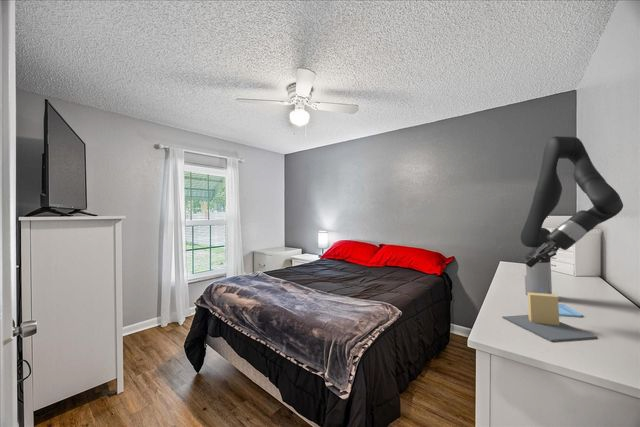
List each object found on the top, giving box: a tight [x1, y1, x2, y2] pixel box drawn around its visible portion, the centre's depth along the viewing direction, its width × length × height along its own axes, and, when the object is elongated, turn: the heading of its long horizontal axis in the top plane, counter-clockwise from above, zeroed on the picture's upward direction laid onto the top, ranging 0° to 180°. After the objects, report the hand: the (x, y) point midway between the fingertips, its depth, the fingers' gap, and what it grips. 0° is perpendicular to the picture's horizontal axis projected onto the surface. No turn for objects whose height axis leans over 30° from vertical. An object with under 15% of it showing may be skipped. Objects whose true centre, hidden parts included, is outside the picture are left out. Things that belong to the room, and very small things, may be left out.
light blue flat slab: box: [558, 303, 584, 318], centre depth 110 cm, size 14×12×1 cm
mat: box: [501, 314, 598, 342], centre depth 94 cm, size 20×16×1 cm
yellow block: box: [527, 292, 560, 325], centre depth 97 cm, size 8×4×10 cm, turn 65°
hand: (527, 265), depth 105 cm, fingers closed
